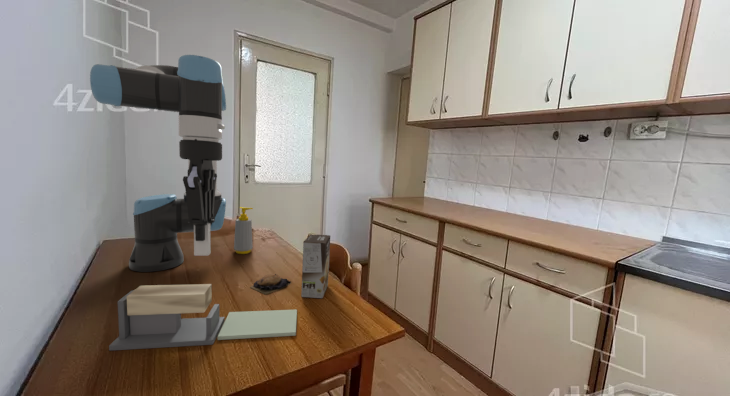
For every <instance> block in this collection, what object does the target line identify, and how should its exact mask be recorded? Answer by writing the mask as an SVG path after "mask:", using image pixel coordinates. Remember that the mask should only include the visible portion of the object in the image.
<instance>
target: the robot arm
mask: <svg viewBox="0 0 730 396" xmlns="http://www.w3.org/2000/svg"><path fill="white" fill-rule="evenodd" d="M222 70H223V69H222V66H221V64H220V62H218V61H217V60H215V59H213V58H210V57H208V56H207V57H206V56H201V55H197V54H196V55H195V54H184V55H181V56H180V57H179V58H178V64H177V66H174V65H166V64H165V65H162V64H158V65H157V64H154V65H153V64H152V65H140V66H138V67H136V68H130V67H129V68H128V67H122V66H121V67H120V66H116V65H113V64H100V63H98V64H94V65H93V66H92V67H91V69H90V74H89V83H90V90H91V94H92V96H93V98H94V100H95V101H97V103H100V104H104V105H109V106H110V105H111V106H115V107H126V108H127V107H128V108H136V109H147V110H157V111H162V112H171V113H172V112H173V113H178V136H179V137H181V138H182V139H180V141H178V143H179V145H178V147H179V158H180V159H182V160H187V163H188V169H187V175H186V176H185V175H184V176H183V178H182V183H183V186H184V189H185V191H184V192H183V198H178V196H177V195H176V194H175V193H166V194H165V193H163V194H155V195H149V196H143V197H140V198H138V199H136V200H135V201H134V202H133V213H132V215H133V229H134V246H133V248H132V251H131V254H130V257H129V261H128V269H130V270H131V271H133V272H134V271H135V272H139V273H141V272H142V273H148V272H149V273H150V272H159V271H165V270H169V269H172V268H173V269H174V268H176V267H178V266H181V264H183V263H184V260H185V259H184V253H183V250H182V248H181V246H180V243H179V241H178V234H179V233H193V256H196V257H197V256H200V257H201V256H204V257H205V256H209V255H211V250H212V249H211V246H212V245H211V232H213V231H214V232H215V231H220V230H221V229H222V228H223V225H224V223H225V222H224V221H225V215H226V206H227V205H226V204H227V200H226V198H225V197H222V192H221V191H219V190H218V188H217V187H218V185H217V184H218V183H217V182H218V181H217V180H218V179H217V178H218V175H217V174H218V173H217V169H218V167H217V166H218V165H217V164H218V163H217V161H221V160H222V159H223V144H222V143H221V142H219V140H222V139H223V138H222V137H223V130H225V128H226V126H225V124H223V122H222V121H223V113H222V112H224V111H226V110H227V101H226V99H227V98H226V91H225V86H224V80H223V76H222V75H223V74H222V73H223V71H222Z"/></svg>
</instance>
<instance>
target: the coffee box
mask: <svg viewBox="0 0 730 396" xmlns="http://www.w3.org/2000/svg"><path fill="white" fill-rule="evenodd" d="M302 244H303V246H302V250H303V251H302V269H301V272H302V273H301V293H300V294H301V297H302V298H312V299H313V298H314V299H323V298H324V296H325V293H326V291H327V288H328V285H329V268H330V249H331V248H330V247H331V235H329V234H313V233H312V234H310V235H309V236H308V237H306V238H305V239H304V240H303V243H302Z"/></svg>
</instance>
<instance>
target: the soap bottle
mask: <svg viewBox="0 0 730 396" xmlns="http://www.w3.org/2000/svg"><path fill="white" fill-rule="evenodd" d="M239 209H241V213H240V216H239V217H238V218H236V219H235V225H234V226H235V227H234V241H233V242H234V243H233V244H234V245H233V250H234V251H235V253H236V254H239V255H245V254H249V253H251V251H252V250H253V247H254V245H253V226H252V219H251V218H249V216H248V215H247V213H246V211H249V210H253V209H254V207H243V206H239Z"/></svg>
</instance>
